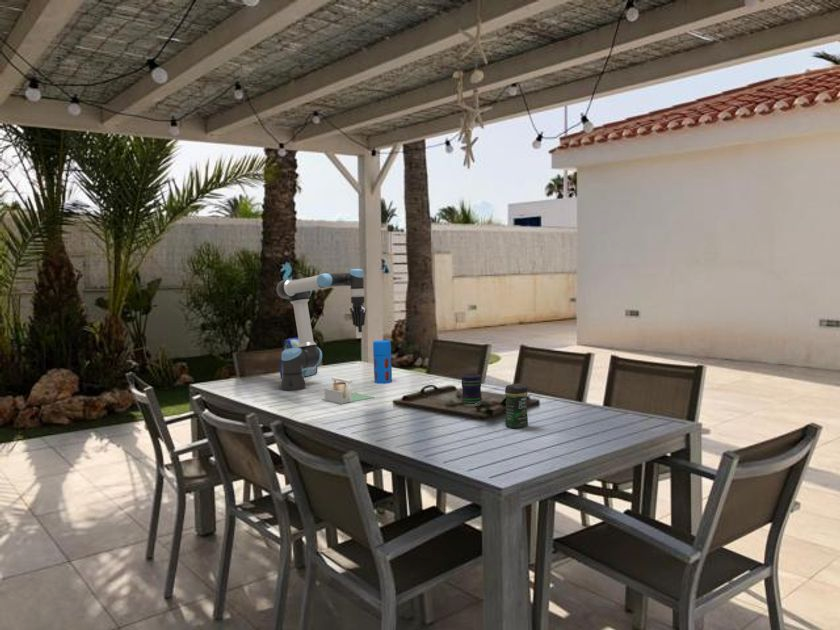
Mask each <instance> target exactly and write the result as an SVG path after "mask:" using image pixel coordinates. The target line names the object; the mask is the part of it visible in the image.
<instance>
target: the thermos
mask: <svg viewBox="0 0 840 630" xmlns="http://www.w3.org/2000/svg"><path fill="white" fill-rule="evenodd" d="M372 345H373V346H372V351H373V353H372V354H373V378H374V380H373V381H374V384H382V385H383V384H390V383H392V382H393V381H392V380H393V379H392V378H393V371H392V369H393V368H392V344H391V340H382V339H381V340H374V341H373V342H372Z"/></svg>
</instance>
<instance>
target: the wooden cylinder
mask: <svg viewBox="0 0 840 630" xmlns="http://www.w3.org/2000/svg"><path fill="white" fill-rule="evenodd" d="M332 390H336V391H340V392H342V393H343V399H346V398H347V394H348V392H347V383H345V382H340V381H336V383H333V382H332Z"/></svg>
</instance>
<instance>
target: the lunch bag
mask: <svg viewBox="0 0 840 630" xmlns="http://www.w3.org/2000/svg"><path fill="white" fill-rule="evenodd" d="M298 345H299V338H298V337H292V338H291V337H290V338H289V337H288V339H285V340H284V342H283V346H282V350H281V353H282V352H283V351H284V350H286V349H290V348H297V347H298ZM280 355H281V356H280V362H279V373H280V375H279V377H280V378H281V379H282V359H281V357H282V354H280ZM317 373H318V365H317V366H314V367H310V368H305V369H302V375H303V378H305V376H306V377H310V375H311V376H315V375H317Z"/></svg>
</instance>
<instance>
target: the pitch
mask: <svg viewBox="0 0 840 630" xmlns="http://www.w3.org/2000/svg"><path fill="white" fill-rule="evenodd" d="M351 395H352V402H347V403H346V404H349V403H355V402H359V401H365V400H369V399H375V396H370V395H366V394H362V393H356V392H353V393H352V392H351ZM347 398H348V393H347ZM321 401H326V402H329V403H330V402H331V403H333V404H338V405H343V404H345V403H343V404H341V403H337V402H333V401H329V400H325V397H324V398H321Z"/></svg>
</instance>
